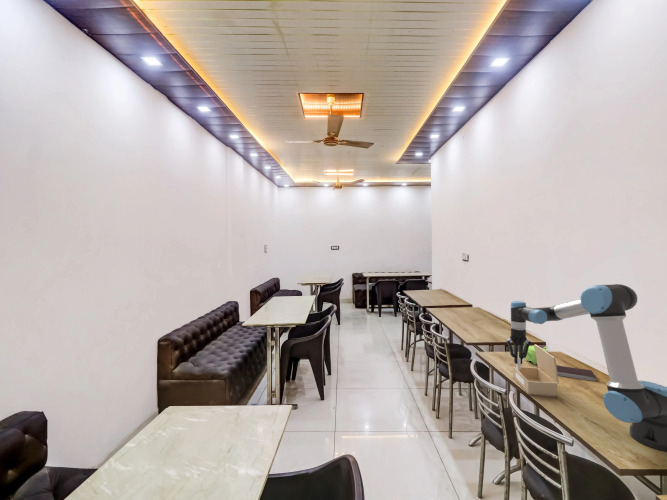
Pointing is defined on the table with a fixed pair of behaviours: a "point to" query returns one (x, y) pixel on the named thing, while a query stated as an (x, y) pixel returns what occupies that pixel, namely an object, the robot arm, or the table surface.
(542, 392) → the open box
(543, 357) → the lid
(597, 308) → the robot arm
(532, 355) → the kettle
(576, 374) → the book
